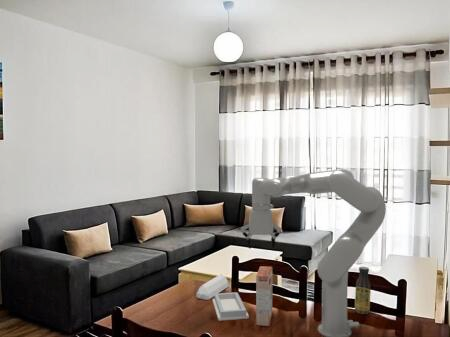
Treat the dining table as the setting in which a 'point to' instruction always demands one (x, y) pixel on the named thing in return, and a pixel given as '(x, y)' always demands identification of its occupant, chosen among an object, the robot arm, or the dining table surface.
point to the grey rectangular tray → (229, 307)
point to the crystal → (212, 287)
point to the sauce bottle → (362, 292)
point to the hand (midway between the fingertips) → (261, 247)
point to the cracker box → (264, 296)
